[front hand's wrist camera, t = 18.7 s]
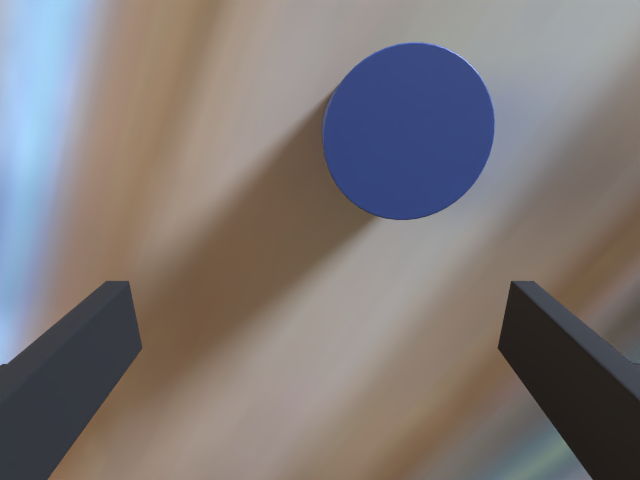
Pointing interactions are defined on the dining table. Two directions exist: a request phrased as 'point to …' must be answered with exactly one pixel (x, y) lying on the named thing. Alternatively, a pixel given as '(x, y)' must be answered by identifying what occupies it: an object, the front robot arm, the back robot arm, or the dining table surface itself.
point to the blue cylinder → (408, 131)
